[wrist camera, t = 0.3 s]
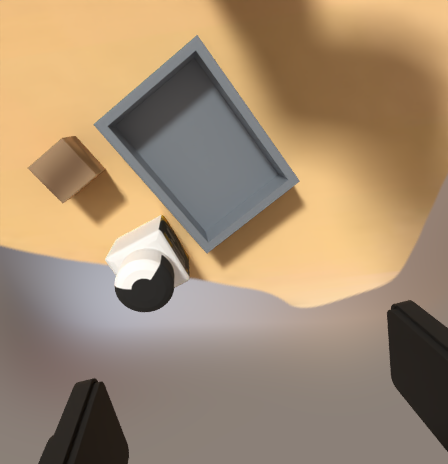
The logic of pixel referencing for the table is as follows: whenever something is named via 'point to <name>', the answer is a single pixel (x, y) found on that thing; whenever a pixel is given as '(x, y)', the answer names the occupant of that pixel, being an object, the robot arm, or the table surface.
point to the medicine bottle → (148, 265)
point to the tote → (198, 146)
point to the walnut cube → (66, 168)
